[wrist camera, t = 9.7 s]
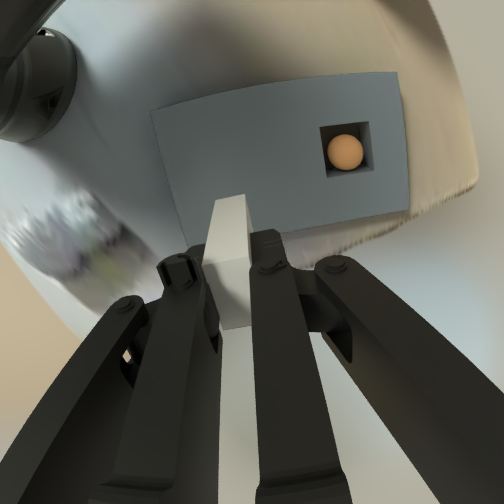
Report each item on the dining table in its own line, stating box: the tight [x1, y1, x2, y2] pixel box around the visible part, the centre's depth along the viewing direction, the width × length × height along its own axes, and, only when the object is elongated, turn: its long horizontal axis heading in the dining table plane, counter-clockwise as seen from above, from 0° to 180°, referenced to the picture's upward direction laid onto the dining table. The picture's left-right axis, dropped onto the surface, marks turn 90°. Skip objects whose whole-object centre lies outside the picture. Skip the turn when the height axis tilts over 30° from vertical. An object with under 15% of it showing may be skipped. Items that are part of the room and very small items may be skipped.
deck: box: [150, 72, 409, 249], centre depth 33 cm, size 26×16×4 cm, turn 101°
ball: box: [327, 134, 363, 170], centre depth 33 cm, size 4×4×4 cm
